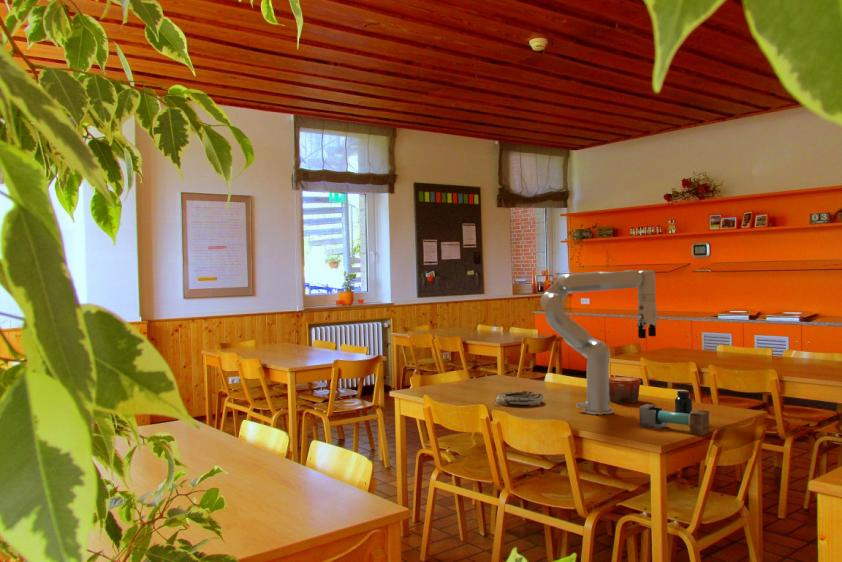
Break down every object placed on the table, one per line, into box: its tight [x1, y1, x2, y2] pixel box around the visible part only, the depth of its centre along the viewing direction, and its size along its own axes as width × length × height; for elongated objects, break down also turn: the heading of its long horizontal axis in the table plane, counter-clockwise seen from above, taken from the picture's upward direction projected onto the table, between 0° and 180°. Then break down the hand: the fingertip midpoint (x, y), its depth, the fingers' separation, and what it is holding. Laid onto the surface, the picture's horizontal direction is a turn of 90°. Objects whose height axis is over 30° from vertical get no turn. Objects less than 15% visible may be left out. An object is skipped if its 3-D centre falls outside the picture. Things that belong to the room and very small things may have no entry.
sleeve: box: [638, 403, 668, 430], centre depth 284 cm, size 8×7×8 cm
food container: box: [609, 376, 642, 404], centre depth 338 cm, size 16×16×11 cm
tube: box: [658, 410, 692, 428], centre depth 277 cm, size 16×6×6 cm, turn 49°
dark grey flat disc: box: [494, 390, 545, 407], centre depth 339 cm, size 28×27×5 cm
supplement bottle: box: [674, 390, 694, 414], centre depth 295 cm, size 7×7×12 cm
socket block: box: [689, 409, 710, 436], centre depth 272 cm, size 4×8×8 cm, turn 139°
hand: (647, 337), depth 315 cm, fingers open, 9 cm apart
